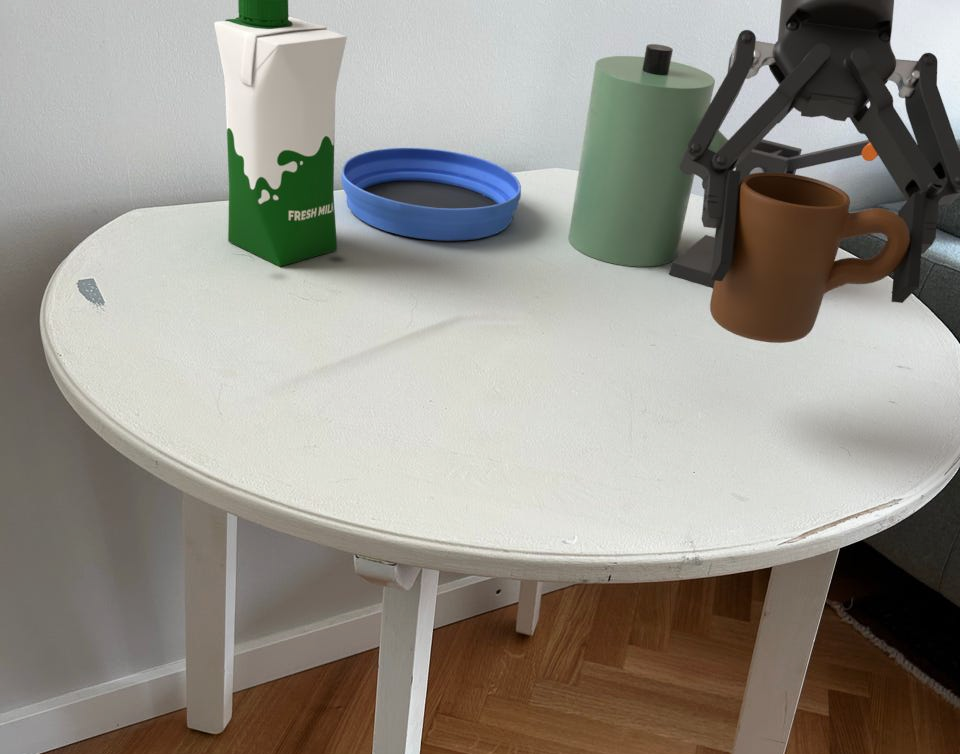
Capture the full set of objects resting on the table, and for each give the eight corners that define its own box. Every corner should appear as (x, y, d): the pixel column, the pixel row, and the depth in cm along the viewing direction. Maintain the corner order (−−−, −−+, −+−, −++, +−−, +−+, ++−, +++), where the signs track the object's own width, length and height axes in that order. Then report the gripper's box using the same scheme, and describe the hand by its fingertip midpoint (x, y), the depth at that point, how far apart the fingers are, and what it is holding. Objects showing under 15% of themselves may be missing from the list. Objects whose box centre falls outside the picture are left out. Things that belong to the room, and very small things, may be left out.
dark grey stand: (806, 275, 110) (843, 151, 103) (778, 306, 103) (815, 176, 96) (703, 246, 114) (731, 124, 106) (668, 274, 107) (696, 145, 99)
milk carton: (286, 222, 107) (284, -16, 94) (352, 252, 103) (360, 8, 90) (213, 241, 101) (201, -9, 89) (280, 273, 97) (277, 16, 84)
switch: (896, 148, 99) (893, 120, 98) (879, 166, 95) (875, 136, 93) (764, 177, 106) (760, 150, 105) (742, 194, 101) (737, 167, 100)
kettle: (725, 254, 113) (773, 59, 101) (688, 286, 105) (736, 79, 94) (594, 217, 117) (627, 26, 106) (550, 245, 109) (579, 43, 98)
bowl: (328, 179, 118) (329, 144, 115) (493, 184, 122) (496, 150, 120) (355, 243, 104) (356, 205, 102) (538, 246, 109) (543, 209, 107)
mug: (875, 327, 82) (919, 196, 76) (873, 368, 76) (922, 230, 70) (713, 293, 84) (744, 163, 78) (700, 332, 78) (732, 194, 72)
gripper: (983, 40, 81) (963, 325, 79) (656, -1, 81) (627, 285, 78) (1038, -32, 74) (1017, 281, 71) (677, -78, 73) (645, 236, 71)
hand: (813, 283), depth 75 cm, fingers closed on mug, 12 cm apart
